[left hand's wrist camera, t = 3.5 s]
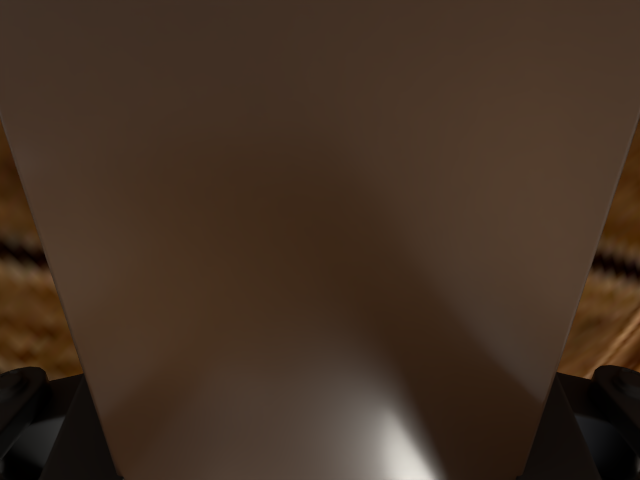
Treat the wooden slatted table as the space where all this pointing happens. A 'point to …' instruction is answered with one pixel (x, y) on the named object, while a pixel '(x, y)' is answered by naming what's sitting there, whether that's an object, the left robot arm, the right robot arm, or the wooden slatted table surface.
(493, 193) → the box
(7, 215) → the wooden slatted table surface
